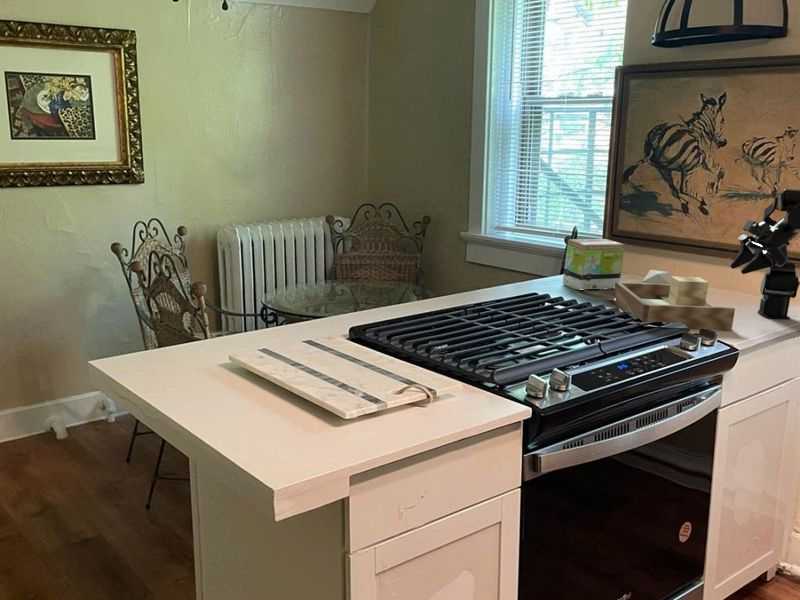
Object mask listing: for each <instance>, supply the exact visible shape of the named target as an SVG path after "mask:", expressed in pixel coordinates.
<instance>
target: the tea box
mask: <svg viewBox="0 0 800 600" xmlns="http://www.w3.org/2000/svg"><path fill="white" fill-rule="evenodd" d="M625 246H626V245H625V244H624V243H621V242H619V241H618V242H617V241H614V240H611V239H607V238H587V239H585V238H581V239H579V238H578V239H577V238H575V239H573V238H572V239H568V240H567V247H566V253H565V262H564V269H563V270H564V271H563V275H562V276H563V277H562V285H565V286H566V287H569V288H572V289H574V290H577V289H600V290H605V289H604V288H614V287H615V283H616V282H621V276H622V267H623V259H624V254H625V253H624V252H625ZM577 291H578V290H577Z"/></svg>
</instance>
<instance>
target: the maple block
mask: <svg viewBox="0 0 800 600" xmlns="http://www.w3.org/2000/svg"><path fill="white" fill-rule="evenodd" d="M670 280H671V283H670V291H669V298H668V303H669V304H671V305H682V306H705V303H707V302H706V301H707V295H708V288H709V281H707V280H705V279H703V278H702V277H695V276H674V275H673V276H671V277H670Z"/></svg>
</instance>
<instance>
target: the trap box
mask: <svg viewBox="0 0 800 600" xmlns="http://www.w3.org/2000/svg"><path fill="white" fill-rule="evenodd" d="M669 291H670V284H653V283H642V282H625V281H624V282H623V281H620V282H616V283H615V289H614V292H613V293H614V294H613V298H614V297H615V298H616V301H613V300H612V301H613V303H614V304H615V305H616V306H617V307H619V309H621V310H622V311H623V312H624V311H629V312H631V313H632V314H633V315H634V316H635V317H638V318H639V319H640V320H641V321H642V322H666V323H678V322H681V323H684V324H685V325H686V326H687V327H688V328H689V329H688V330H698V331H699V330H700V329H701V328H706V329H709V330H708V331H723V332H724V331H726V332H727V331H728V332H732V331H733V330H732V329H733V324H734V317H735V312H736V308H735V307H731V306H730V307H726V306H712V305H711V304H709V303H708V302H706V303H705V306H682V305H671V304H669V303H668V298H669Z"/></svg>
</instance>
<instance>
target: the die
mask: <svg viewBox="0 0 800 600" xmlns="http://www.w3.org/2000/svg"><path fill="white" fill-rule="evenodd" d="M641 283H653V284H670V283H671V277H670V273H669V271H663V270H655V269H650V270H649V272H648V273H647V274H646V275H645V276H644V278H643V279H642V281H641Z"/></svg>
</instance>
